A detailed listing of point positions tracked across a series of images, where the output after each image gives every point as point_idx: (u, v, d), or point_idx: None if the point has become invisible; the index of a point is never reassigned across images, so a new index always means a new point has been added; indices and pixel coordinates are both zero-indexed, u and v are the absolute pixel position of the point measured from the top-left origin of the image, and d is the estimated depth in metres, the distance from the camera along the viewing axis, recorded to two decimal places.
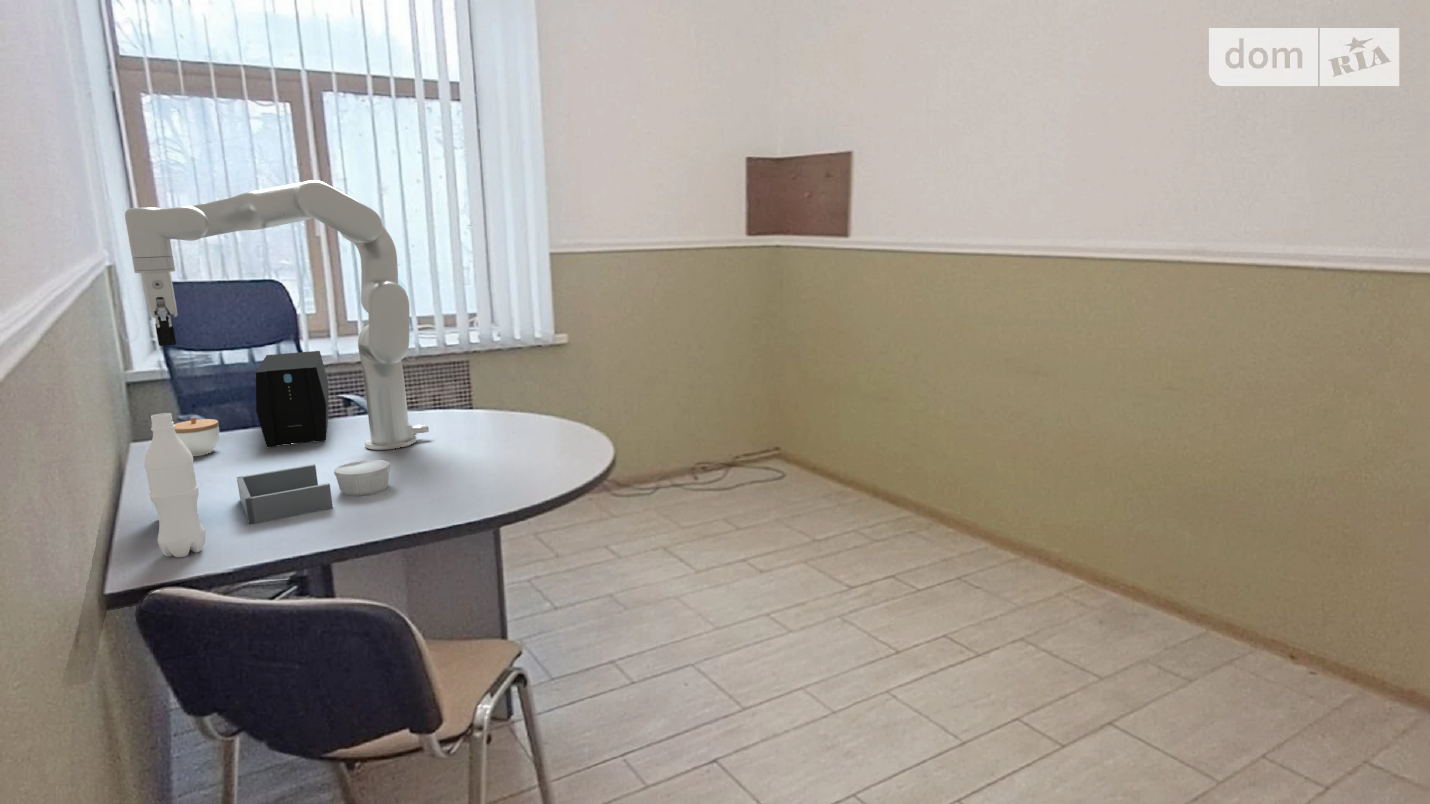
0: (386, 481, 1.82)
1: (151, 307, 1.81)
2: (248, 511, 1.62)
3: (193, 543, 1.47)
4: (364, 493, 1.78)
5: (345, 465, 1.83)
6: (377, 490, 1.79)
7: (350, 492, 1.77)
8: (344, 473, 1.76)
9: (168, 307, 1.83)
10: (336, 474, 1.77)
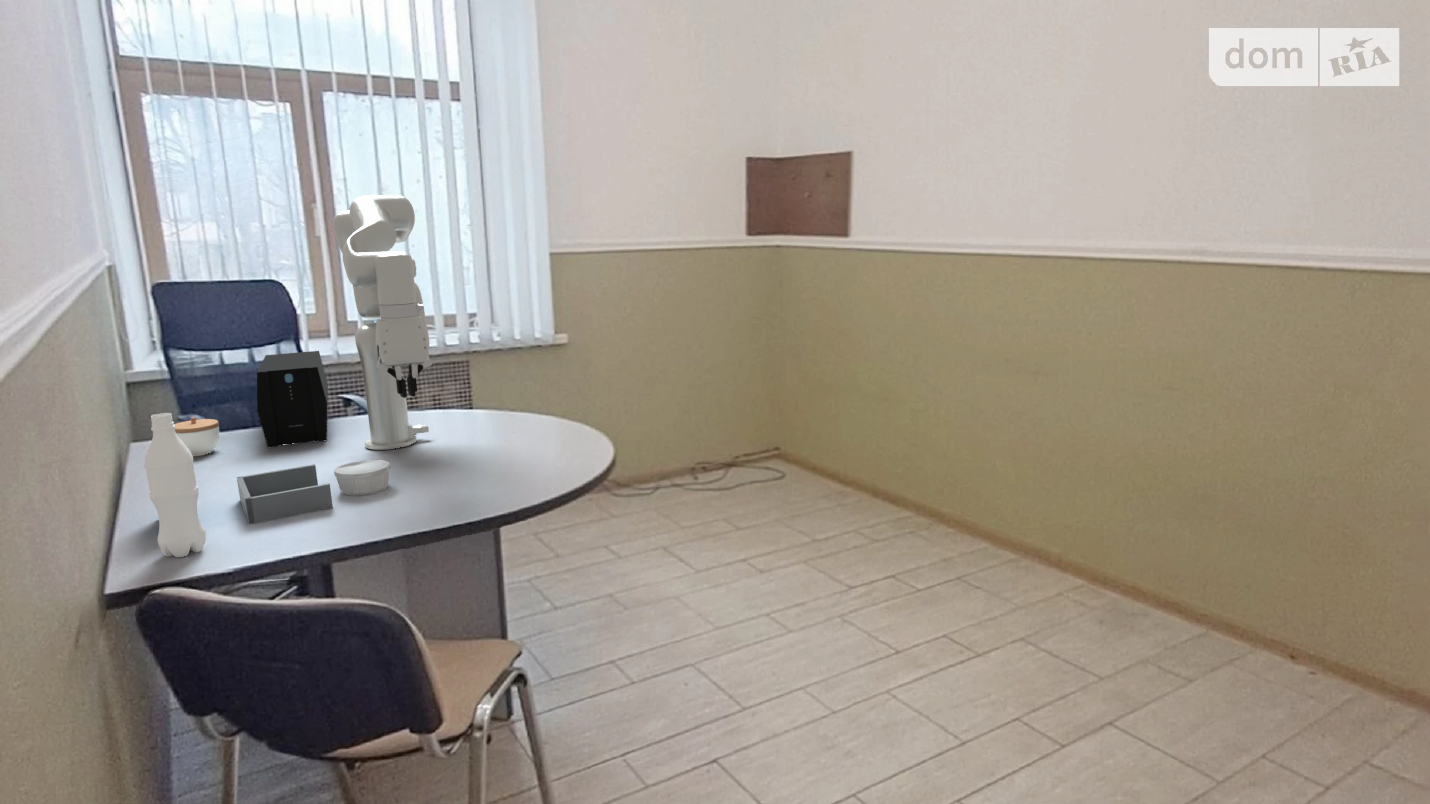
0: (386, 481, 1.82)
1: (428, 350, 1.83)
2: (248, 511, 1.62)
3: (193, 543, 1.47)
4: (364, 493, 1.78)
5: (345, 465, 1.83)
6: (377, 490, 1.79)
7: (350, 492, 1.77)
8: (344, 473, 1.76)
9: None
10: (336, 474, 1.77)
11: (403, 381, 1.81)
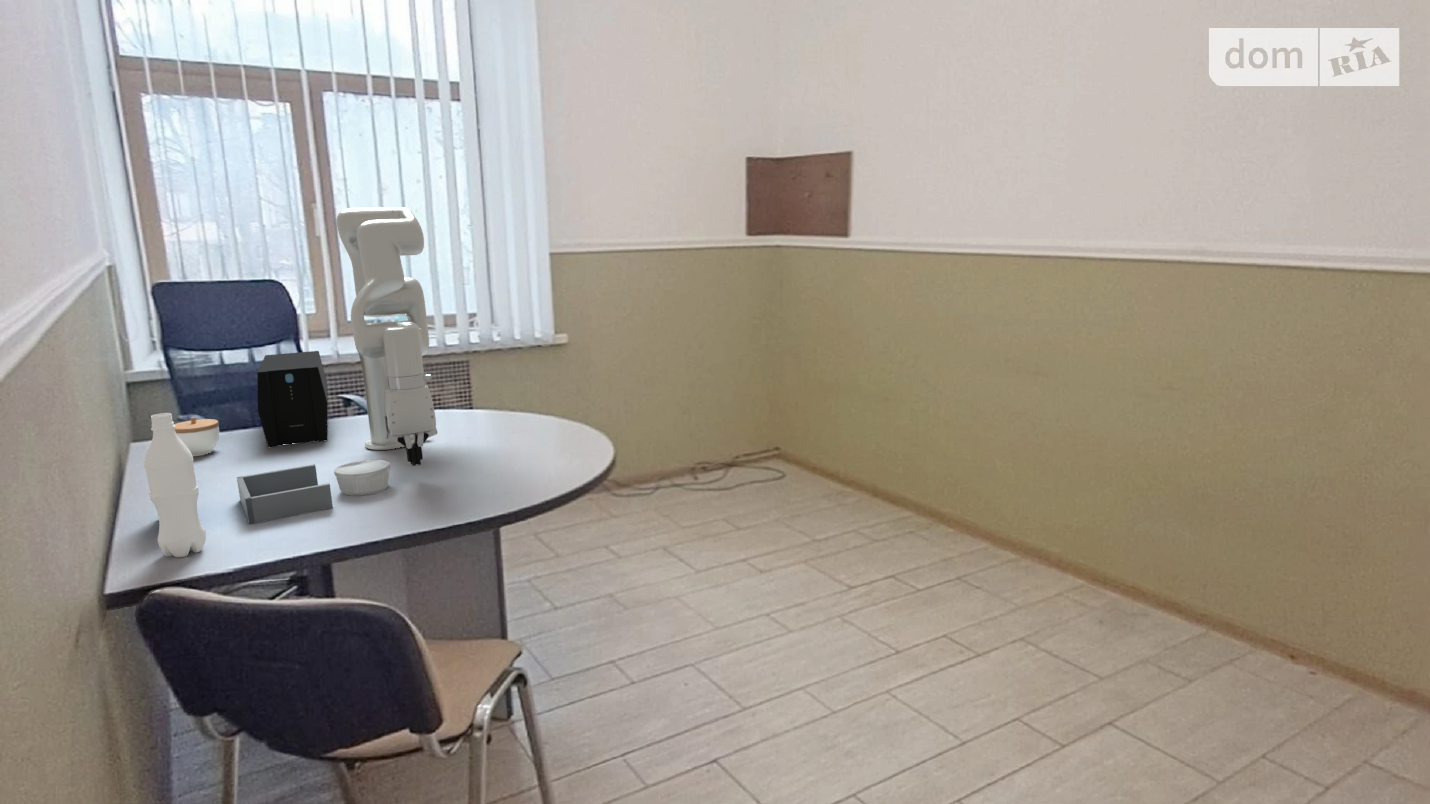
0: (386, 481, 1.82)
1: (435, 419, 1.86)
2: (248, 511, 1.62)
3: (193, 543, 1.47)
4: (364, 493, 1.78)
5: (345, 465, 1.83)
6: (377, 490, 1.79)
7: (350, 492, 1.77)
8: (344, 473, 1.76)
9: None
10: (336, 474, 1.77)
11: (413, 449, 1.85)
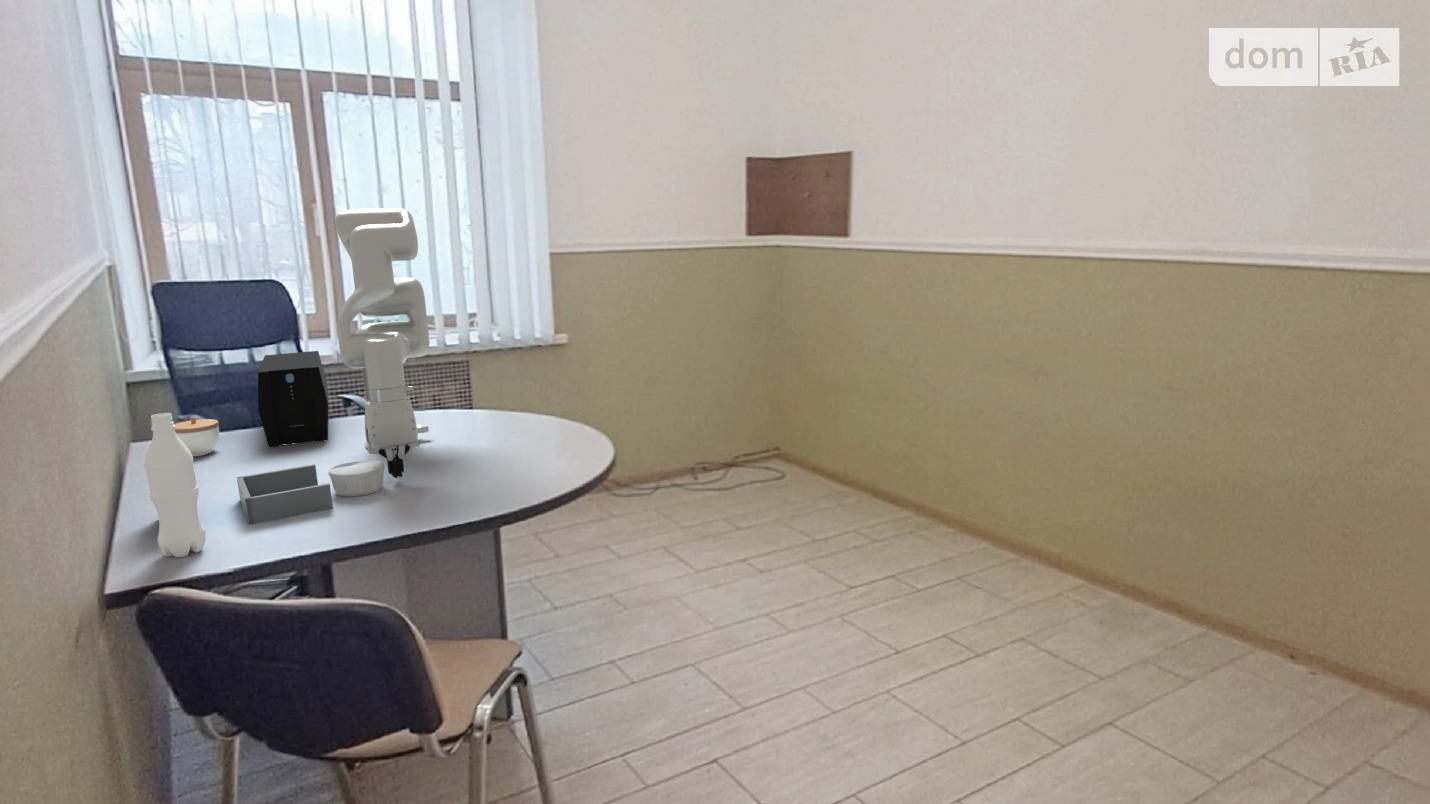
0: (381, 482, 1.81)
1: (416, 431, 1.85)
2: (248, 511, 1.62)
3: (193, 543, 1.47)
4: (358, 494, 1.77)
5: (339, 465, 1.83)
6: (372, 491, 1.79)
7: (345, 493, 1.77)
8: (338, 474, 1.76)
9: None
10: (330, 475, 1.77)
11: (394, 462, 1.83)
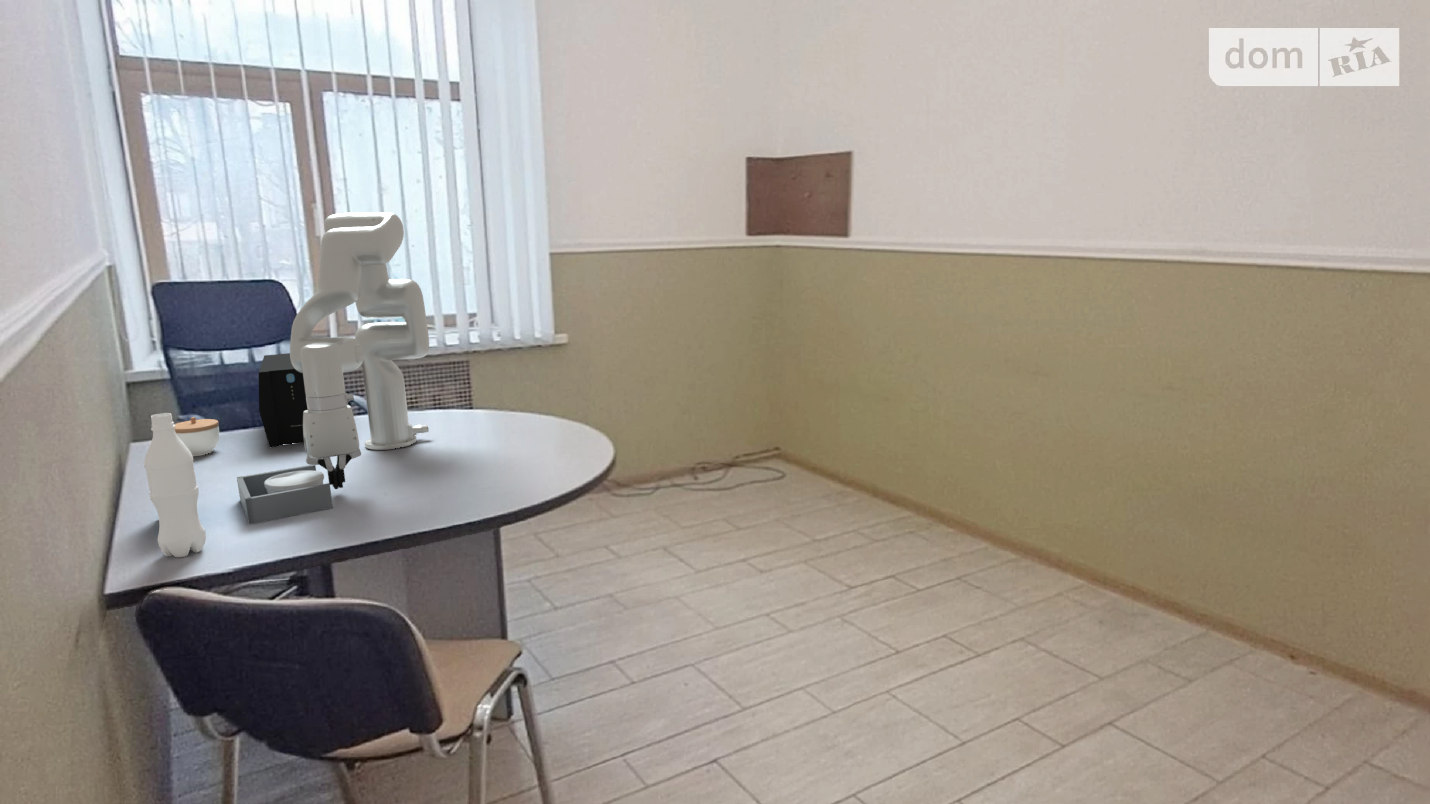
0: None
1: (358, 440, 1.78)
2: (248, 511, 1.62)
3: (193, 543, 1.47)
4: None
5: (277, 476, 1.76)
6: None
7: None
8: (274, 485, 1.69)
9: None
10: (266, 486, 1.70)
11: (334, 472, 1.77)
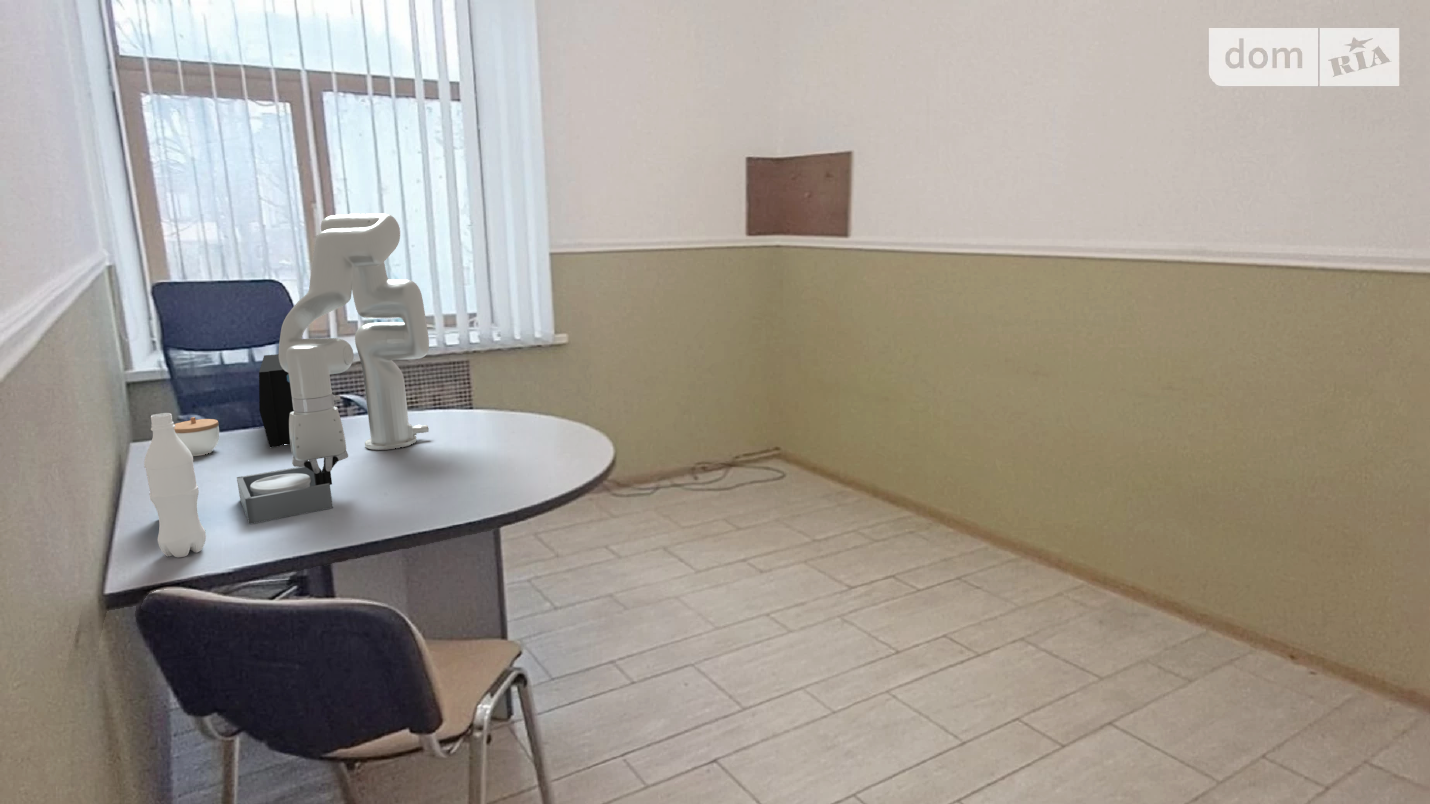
0: None
1: (345, 442, 1.77)
2: (248, 511, 1.62)
3: (193, 543, 1.47)
4: None
5: (263, 479, 1.75)
6: None
7: None
8: (260, 488, 1.68)
9: None
10: (252, 489, 1.69)
11: (321, 474, 1.75)
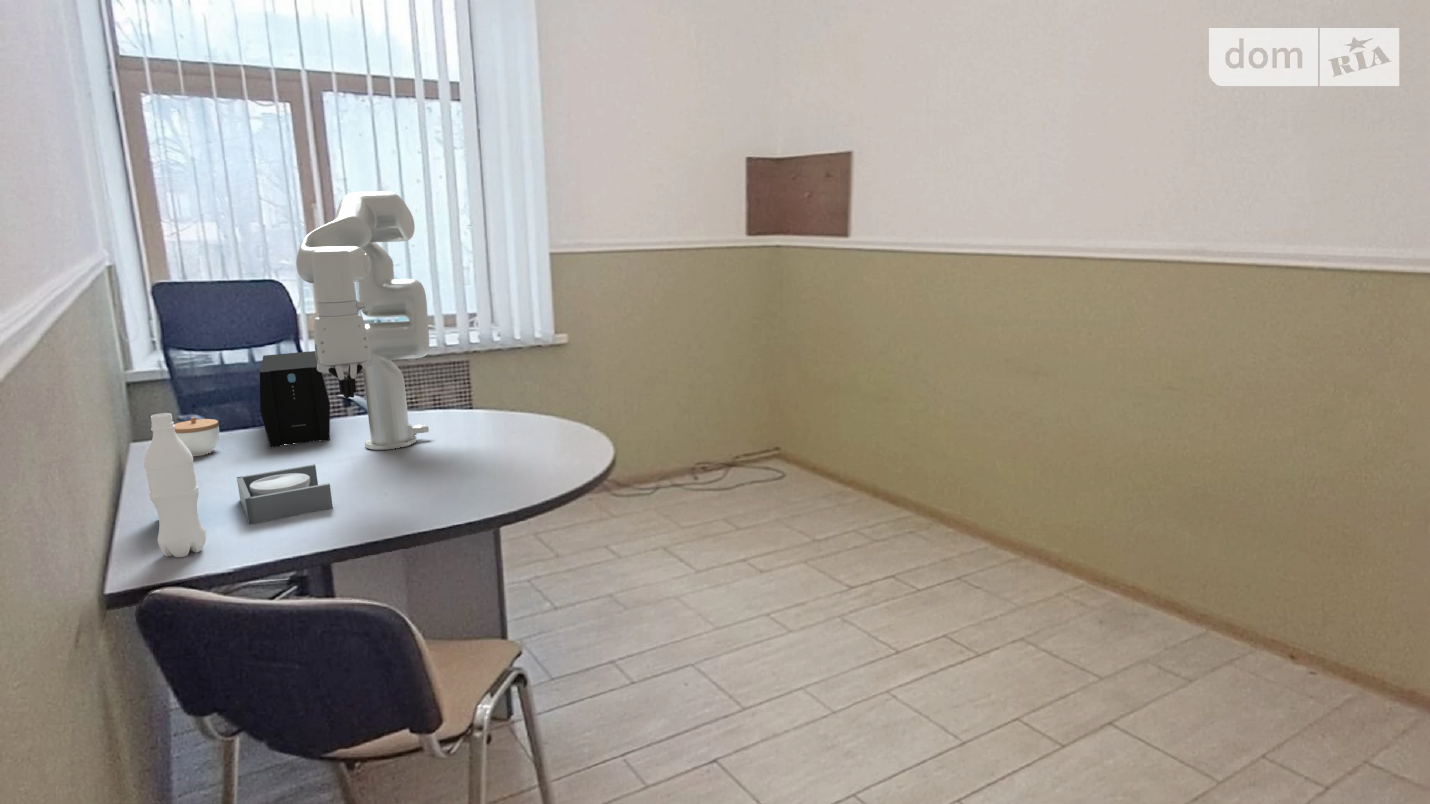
0: None
1: (369, 350, 1.76)
2: (248, 511, 1.62)
3: (193, 543, 1.47)
4: None
5: (263, 479, 1.75)
6: None
7: None
8: (259, 488, 1.68)
9: None
10: (251, 489, 1.68)
11: (345, 381, 1.75)
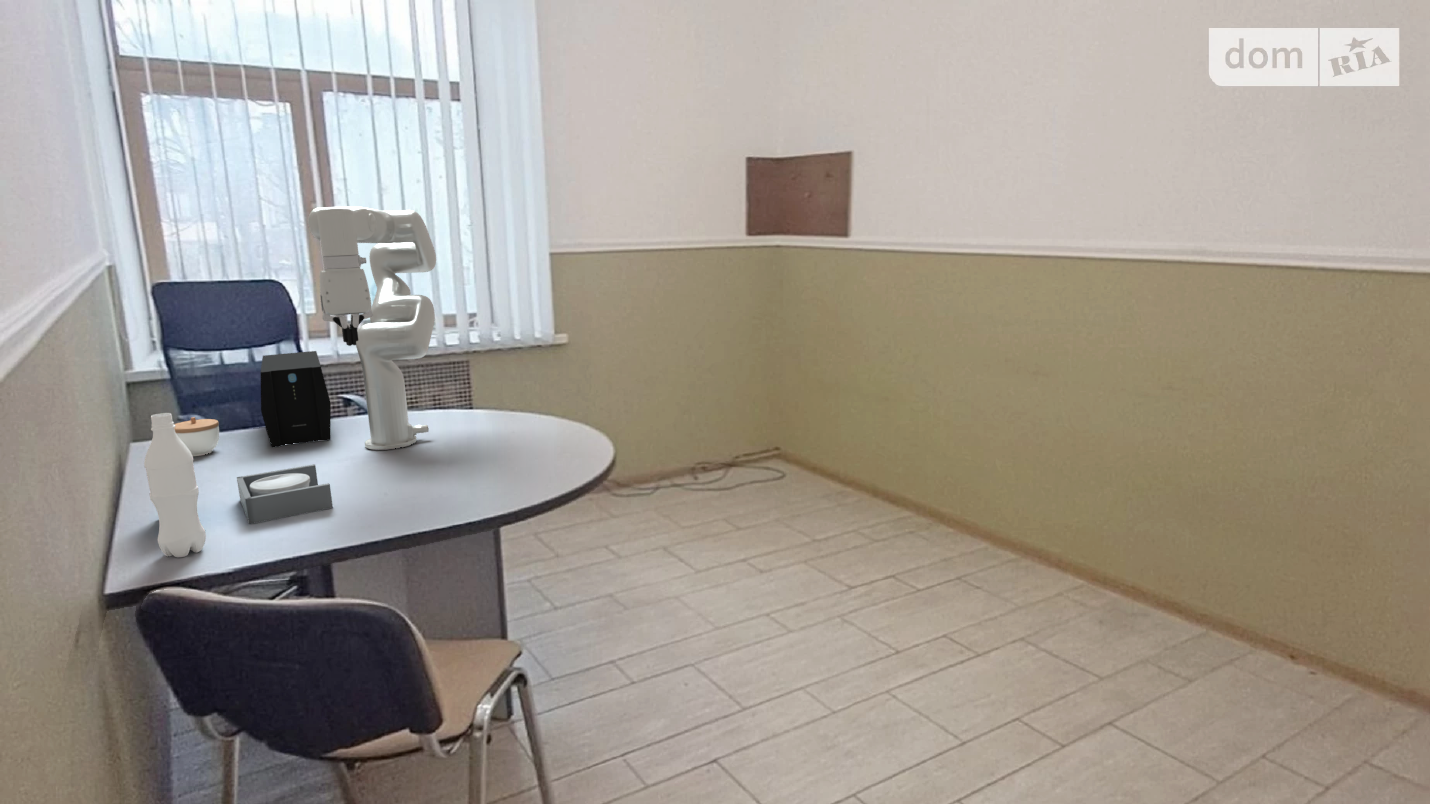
0: None
1: (370, 301, 1.92)
2: (248, 511, 1.62)
3: (193, 543, 1.47)
4: None
5: (263, 479, 1.75)
6: None
7: None
8: (259, 488, 1.68)
9: None
10: (251, 489, 1.68)
11: (348, 330, 1.90)
